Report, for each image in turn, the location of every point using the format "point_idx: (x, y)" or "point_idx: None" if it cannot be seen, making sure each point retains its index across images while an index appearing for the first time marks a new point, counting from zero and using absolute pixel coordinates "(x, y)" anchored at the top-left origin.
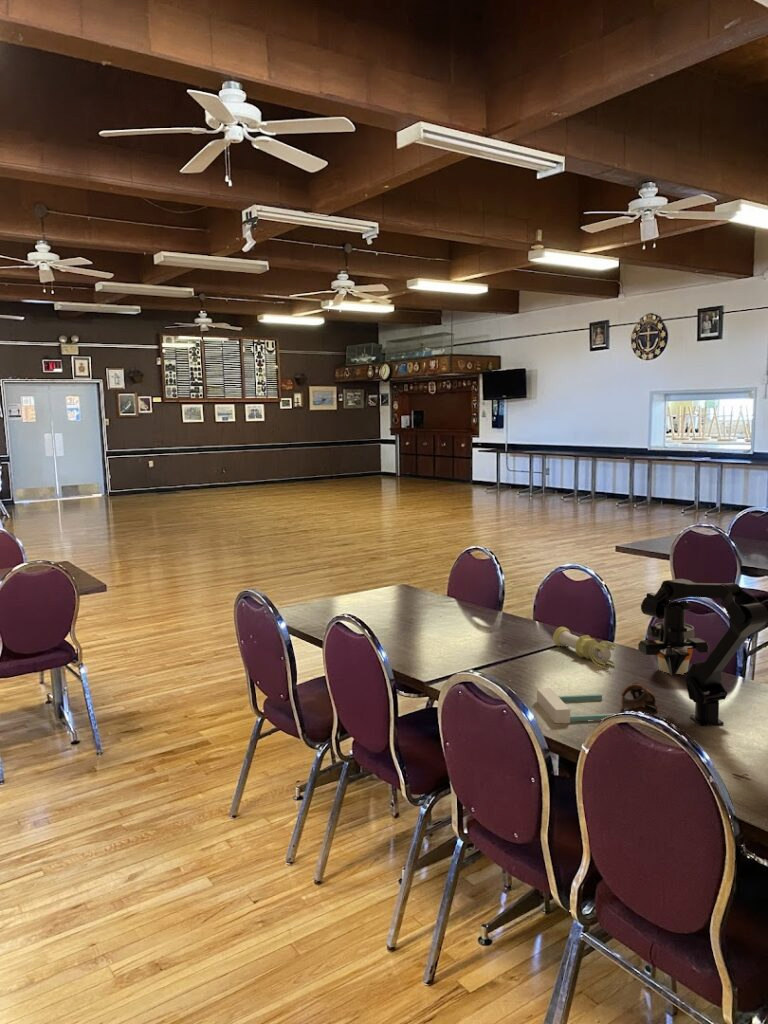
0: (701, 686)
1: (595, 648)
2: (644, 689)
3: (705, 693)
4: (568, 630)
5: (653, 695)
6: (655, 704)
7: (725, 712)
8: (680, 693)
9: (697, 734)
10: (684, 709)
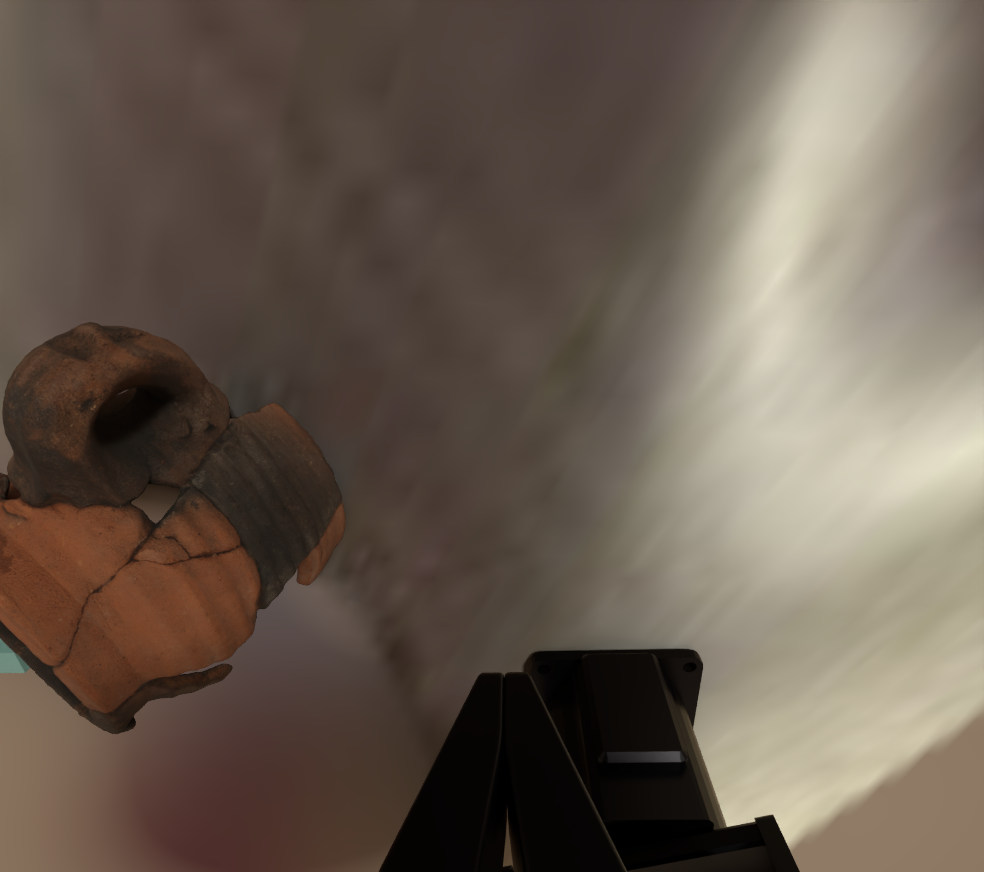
0: None
1: None
2: (97, 714)
3: (689, 860)
4: None
5: (246, 637)
6: (301, 577)
7: (853, 601)
8: (801, 99)
9: None
10: (574, 525)
